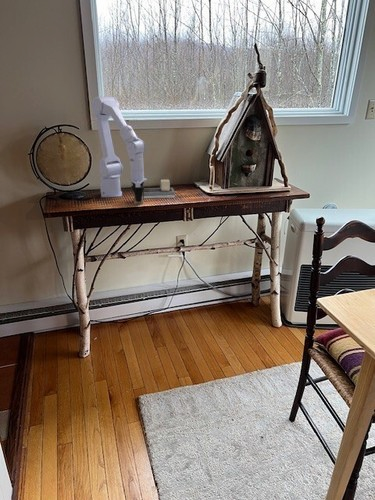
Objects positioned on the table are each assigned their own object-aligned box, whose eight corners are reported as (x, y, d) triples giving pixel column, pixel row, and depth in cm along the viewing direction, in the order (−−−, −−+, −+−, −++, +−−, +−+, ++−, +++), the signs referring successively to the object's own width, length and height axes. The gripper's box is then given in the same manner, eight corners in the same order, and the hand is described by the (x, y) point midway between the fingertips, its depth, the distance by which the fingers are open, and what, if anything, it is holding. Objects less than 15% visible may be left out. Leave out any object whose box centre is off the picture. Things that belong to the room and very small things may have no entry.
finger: (134, 203, 162) (133, 190, 160) (134, 201, 166) (133, 188, 163) (144, 203, 163) (143, 190, 160) (143, 200, 166) (143, 188, 164)
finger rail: (136, 198, 169) (135, 183, 166) (136, 193, 177) (135, 179, 174) (174, 197, 171) (174, 182, 168) (172, 192, 180) (172, 178, 177)
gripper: (146, 172, 152) (148, 203, 158) (145, 165, 165) (146, 194, 171) (129, 172, 151) (131, 204, 157) (130, 165, 164) (131, 194, 170)
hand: (138, 199), depth 164 cm, fingers open, 7 cm apart
